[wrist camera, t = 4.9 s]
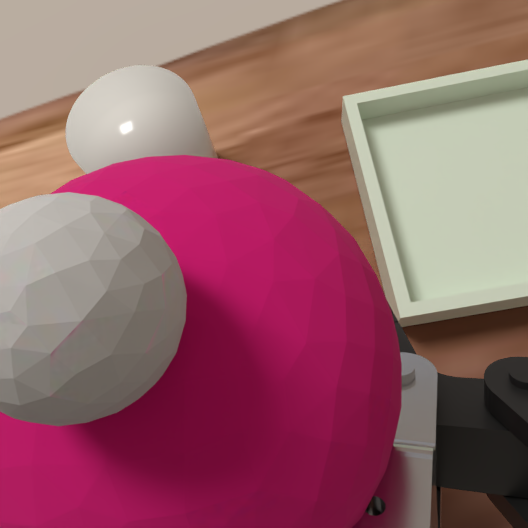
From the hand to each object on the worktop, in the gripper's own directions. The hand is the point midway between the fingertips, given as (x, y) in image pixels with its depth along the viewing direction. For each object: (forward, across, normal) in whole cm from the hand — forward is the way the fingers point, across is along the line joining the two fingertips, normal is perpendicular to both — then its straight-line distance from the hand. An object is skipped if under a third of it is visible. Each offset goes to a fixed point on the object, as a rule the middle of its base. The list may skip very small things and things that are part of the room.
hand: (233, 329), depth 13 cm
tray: (+12, -13, +2) cm, 18 cm away
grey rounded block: (+15, +4, -1) cm, 16 cm away
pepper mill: (+6, 0, +9) cm, 11 cm away
